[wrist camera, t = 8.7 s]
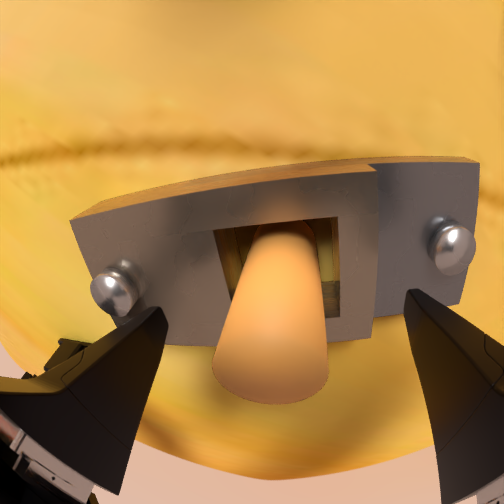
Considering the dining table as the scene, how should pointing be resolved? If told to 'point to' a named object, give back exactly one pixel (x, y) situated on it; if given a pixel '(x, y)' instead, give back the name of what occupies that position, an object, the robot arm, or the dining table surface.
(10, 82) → the dining table surface
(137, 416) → the robot arm
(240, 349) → the connecting pin
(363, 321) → the gray switch cover plate
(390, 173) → the grey peg hole base
